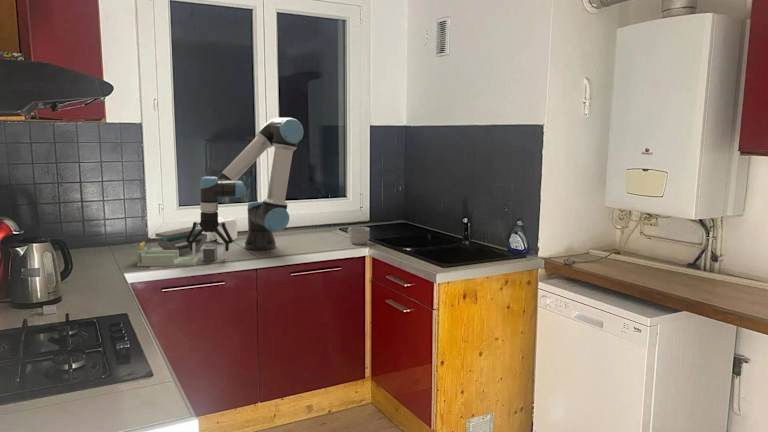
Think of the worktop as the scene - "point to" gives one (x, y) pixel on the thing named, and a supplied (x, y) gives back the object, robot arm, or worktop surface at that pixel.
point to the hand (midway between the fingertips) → (209, 258)
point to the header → (163, 258)
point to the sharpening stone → (180, 240)
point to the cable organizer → (231, 227)
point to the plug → (209, 253)
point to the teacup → (358, 235)
